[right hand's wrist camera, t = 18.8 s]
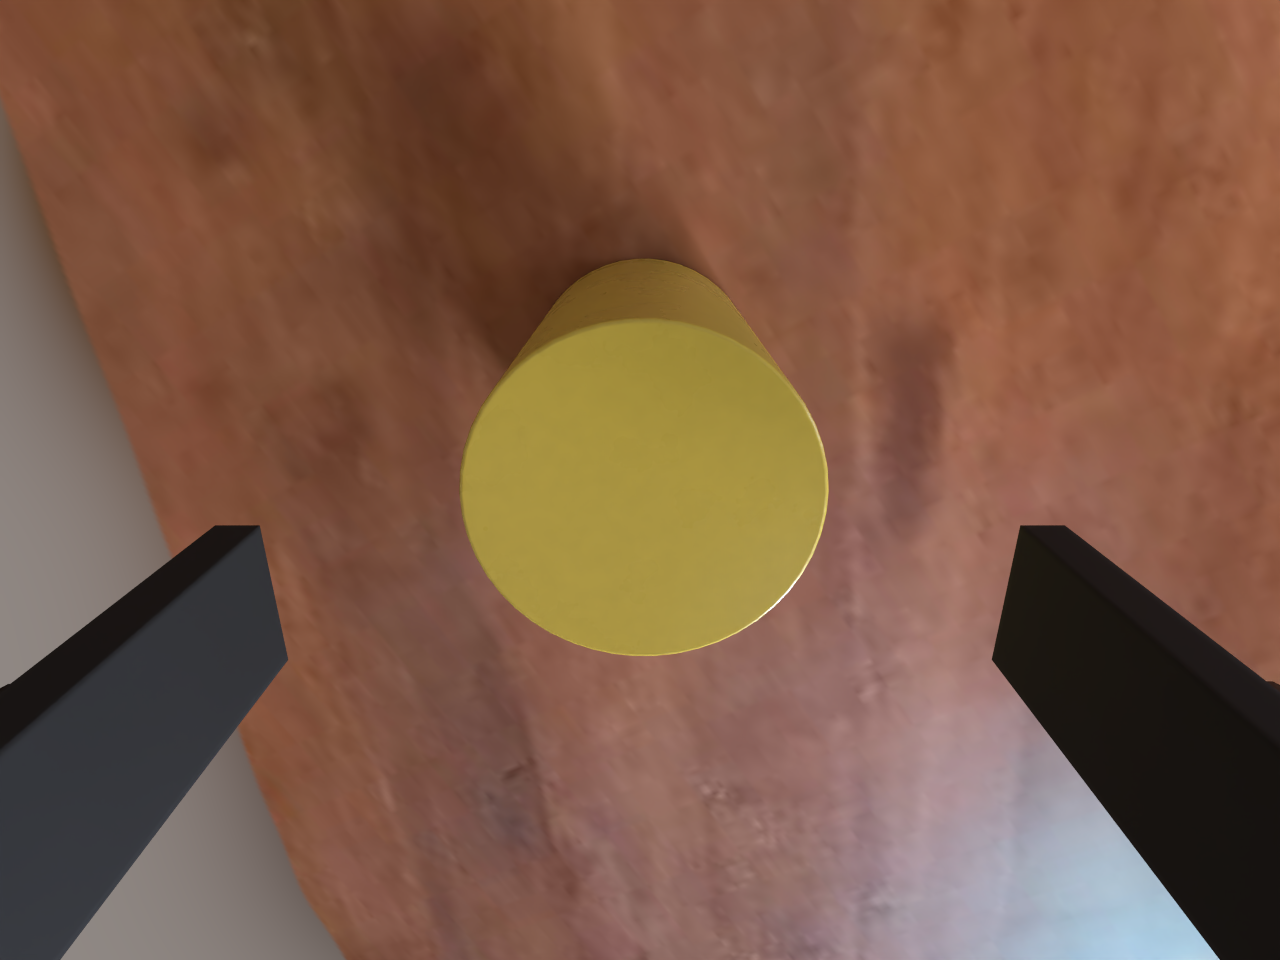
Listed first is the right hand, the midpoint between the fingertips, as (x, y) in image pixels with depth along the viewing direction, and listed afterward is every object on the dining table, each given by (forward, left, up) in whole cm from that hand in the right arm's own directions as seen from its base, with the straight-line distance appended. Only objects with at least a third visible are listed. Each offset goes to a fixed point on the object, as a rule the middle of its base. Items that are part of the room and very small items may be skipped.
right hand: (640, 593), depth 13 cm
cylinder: (0, 0, -14) cm, 14 cm away
